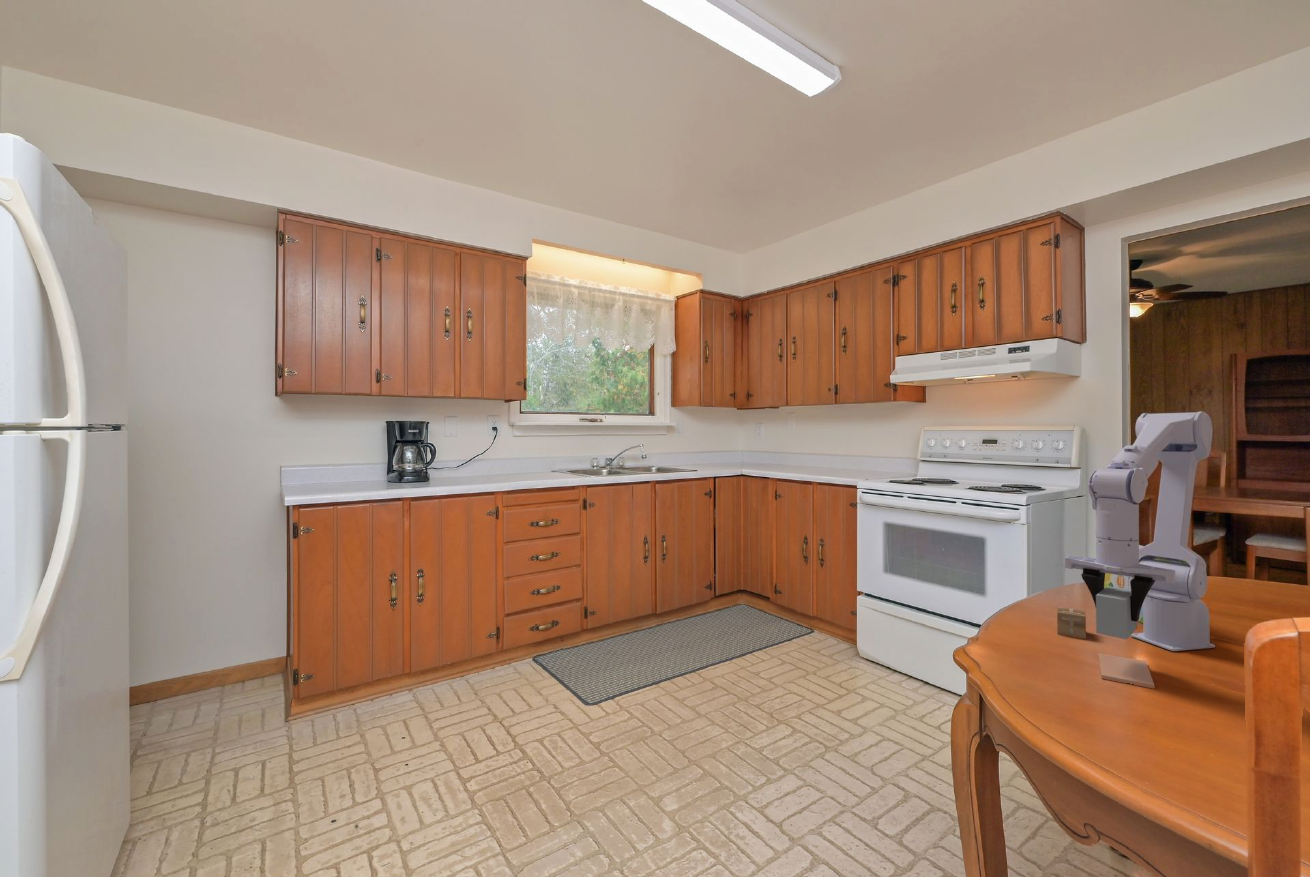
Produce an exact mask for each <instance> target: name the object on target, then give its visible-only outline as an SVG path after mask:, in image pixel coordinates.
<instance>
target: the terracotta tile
mask: <svg viewBox="0 0 1310 877" xmlns="http://www.w3.org/2000/svg"><path fill="white" fill-rule="evenodd" d="M1097 653H1098V654H1097V655H1098V656H1097V657H1098V664H1099V670H1100V676H1101V679H1102V680H1108V681H1113V682H1118V683H1121V684H1122V683H1123V684H1127V683H1130V684H1129V685H1132V684H1134V686H1139V687H1144V688H1148V689H1153V690H1155V683H1154V680H1153V677H1152V675H1151V671H1150V668H1149V666H1148V663H1147V661H1146V660H1143V659H1142V660H1141V659H1136V658H1130V657H1129V658H1128V657H1122V656H1118V655H1113V654H1106V653H1101V652H1097Z"/></svg>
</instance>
